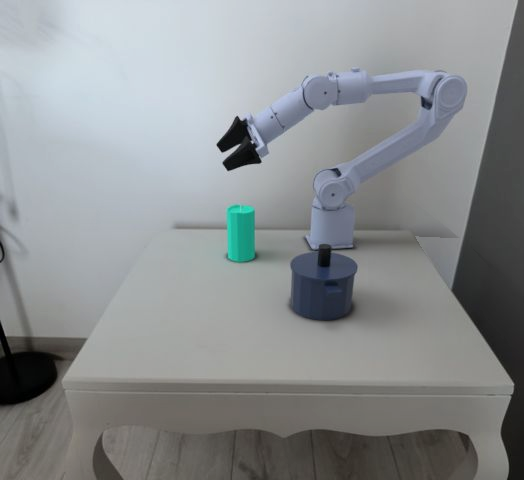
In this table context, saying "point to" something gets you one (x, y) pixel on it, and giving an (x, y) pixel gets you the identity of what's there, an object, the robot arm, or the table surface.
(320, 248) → the pot lid
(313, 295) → the pot
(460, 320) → the table surface
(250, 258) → the candle
